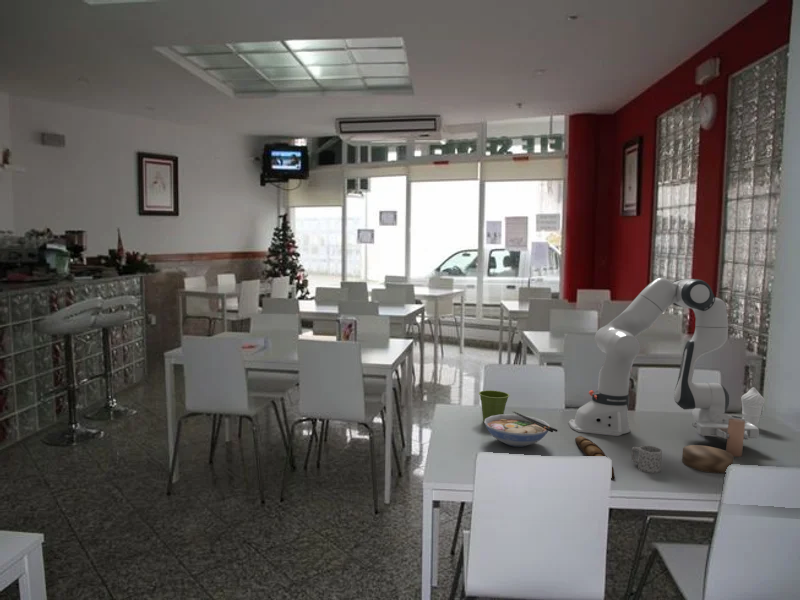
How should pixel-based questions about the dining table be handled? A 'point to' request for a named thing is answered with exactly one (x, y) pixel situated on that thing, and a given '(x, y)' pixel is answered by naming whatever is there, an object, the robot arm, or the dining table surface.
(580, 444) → the bread
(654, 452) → the mug
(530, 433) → the ramen bowl
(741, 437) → the smooth tan cylinder
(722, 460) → the walnut stand
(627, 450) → the dining table surface
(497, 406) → the plant pot
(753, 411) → the white tall pointed piece
